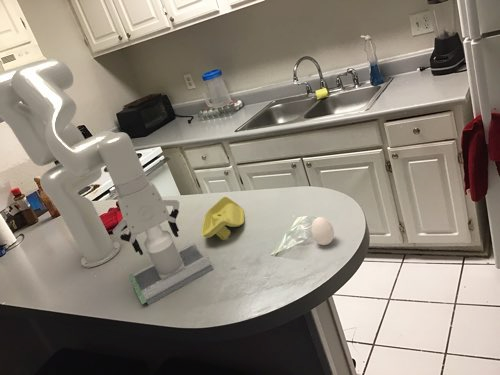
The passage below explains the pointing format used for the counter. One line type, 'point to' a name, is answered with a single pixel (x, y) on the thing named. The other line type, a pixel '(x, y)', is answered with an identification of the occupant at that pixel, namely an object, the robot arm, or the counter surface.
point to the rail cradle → (170, 276)
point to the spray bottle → (163, 251)
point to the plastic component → (222, 218)
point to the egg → (322, 231)
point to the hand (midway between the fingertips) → (158, 243)
